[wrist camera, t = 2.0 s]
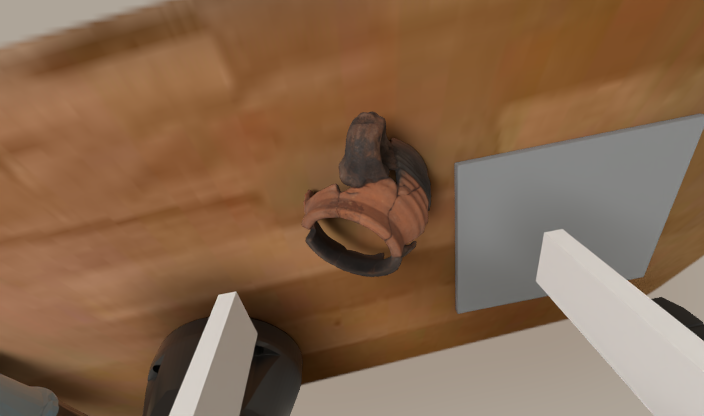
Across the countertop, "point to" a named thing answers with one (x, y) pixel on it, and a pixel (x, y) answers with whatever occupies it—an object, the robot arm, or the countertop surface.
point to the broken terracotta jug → (372, 198)
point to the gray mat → (566, 206)
